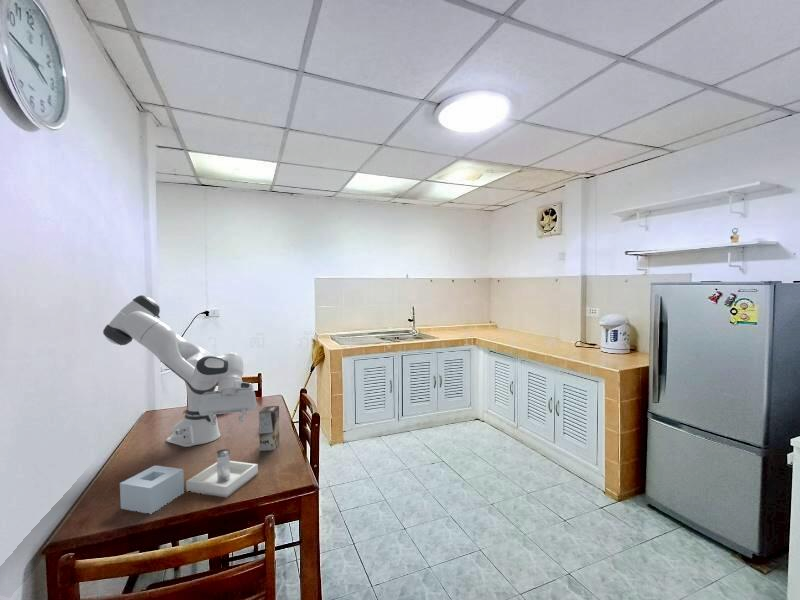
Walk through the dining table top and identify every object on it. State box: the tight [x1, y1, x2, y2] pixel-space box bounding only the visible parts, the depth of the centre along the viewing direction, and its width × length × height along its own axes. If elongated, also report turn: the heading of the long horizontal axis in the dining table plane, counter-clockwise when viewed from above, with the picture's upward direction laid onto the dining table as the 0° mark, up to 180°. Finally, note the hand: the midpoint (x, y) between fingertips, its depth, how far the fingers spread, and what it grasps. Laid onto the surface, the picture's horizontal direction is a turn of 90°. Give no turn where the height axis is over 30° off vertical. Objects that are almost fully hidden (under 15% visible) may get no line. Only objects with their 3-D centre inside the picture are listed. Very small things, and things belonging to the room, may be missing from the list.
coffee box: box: [258, 405, 281, 452], centre depth 159 cm, size 9×6×16 cm
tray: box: [185, 460, 259, 498], centre depth 130 cm, size 16×16×4 cm
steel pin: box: [216, 448, 231, 483], centre depth 130 cm, size 4×4×10 cm
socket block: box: [119, 465, 185, 515], centre depth 119 cm, size 12×12×8 cm
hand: (227, 422), depth 139 cm, fingers open, 8 cm apart
